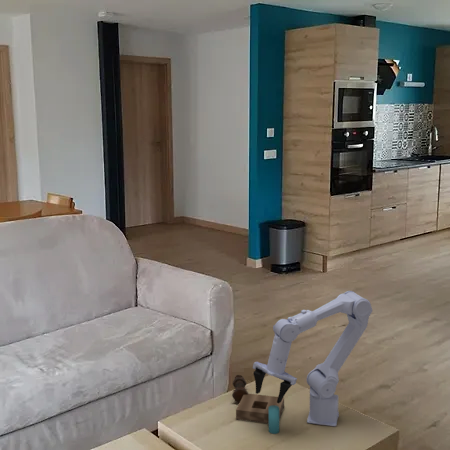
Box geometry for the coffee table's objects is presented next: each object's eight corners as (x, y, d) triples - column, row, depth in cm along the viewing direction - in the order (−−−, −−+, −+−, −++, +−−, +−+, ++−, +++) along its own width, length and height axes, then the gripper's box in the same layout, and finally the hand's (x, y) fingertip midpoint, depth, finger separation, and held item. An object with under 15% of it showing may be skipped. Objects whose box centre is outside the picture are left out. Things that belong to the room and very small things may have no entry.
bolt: (241, 387, 222) (242, 406, 207) (229, 381, 222) (230, 399, 207) (248, 374, 221) (250, 392, 206) (237, 368, 221) (238, 386, 206)
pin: (280, 428, 191) (280, 406, 189) (278, 434, 188) (278, 411, 186) (269, 427, 192) (269, 404, 190) (267, 433, 189) (267, 409, 187)
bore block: (284, 406, 205) (284, 397, 204) (277, 424, 193) (277, 414, 193) (244, 402, 208) (244, 393, 208) (236, 419, 197) (236, 409, 196)
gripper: (252, 351, 187) (242, 391, 189) (294, 368, 181) (283, 409, 182) (262, 347, 193) (252, 386, 195) (302, 363, 187) (292, 403, 188)
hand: (268, 397), depth 189 cm, fingers open, 7 cm apart
